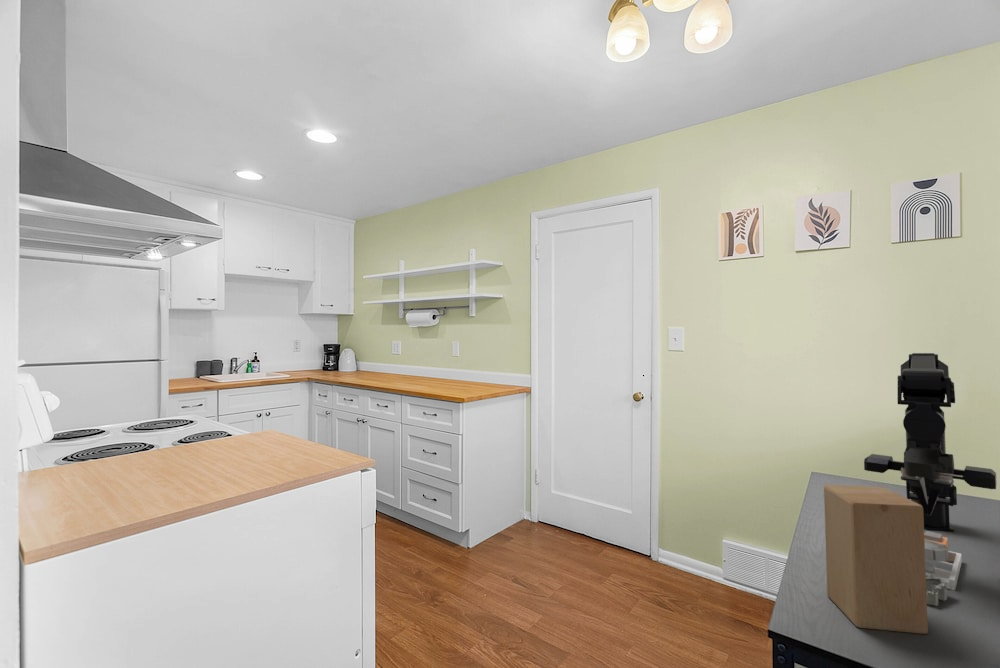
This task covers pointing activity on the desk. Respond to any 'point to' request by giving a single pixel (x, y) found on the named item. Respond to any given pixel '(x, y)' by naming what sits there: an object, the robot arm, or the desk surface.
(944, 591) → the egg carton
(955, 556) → the chassis
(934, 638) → the desk surface
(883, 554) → the wooden block
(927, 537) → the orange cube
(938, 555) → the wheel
